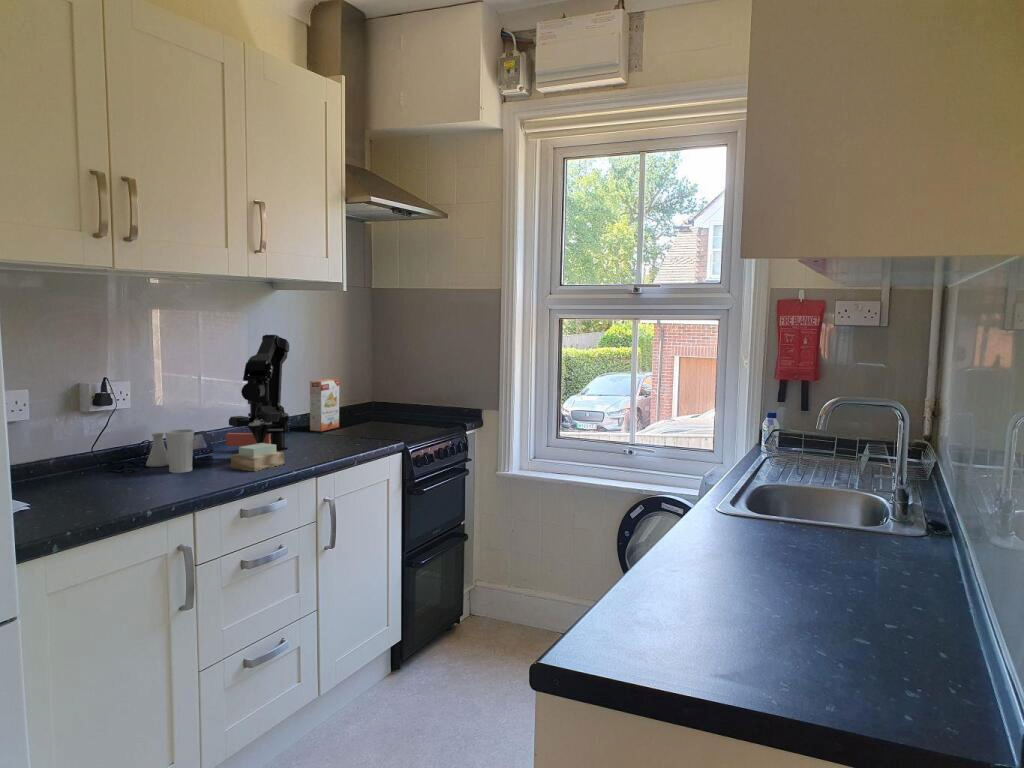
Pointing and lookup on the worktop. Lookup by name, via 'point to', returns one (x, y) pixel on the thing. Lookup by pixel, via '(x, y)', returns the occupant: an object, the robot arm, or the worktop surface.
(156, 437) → the flask
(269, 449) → the green soap bar
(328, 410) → the cracker box
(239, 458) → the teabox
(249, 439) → the red rectangular slab
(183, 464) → the cup
